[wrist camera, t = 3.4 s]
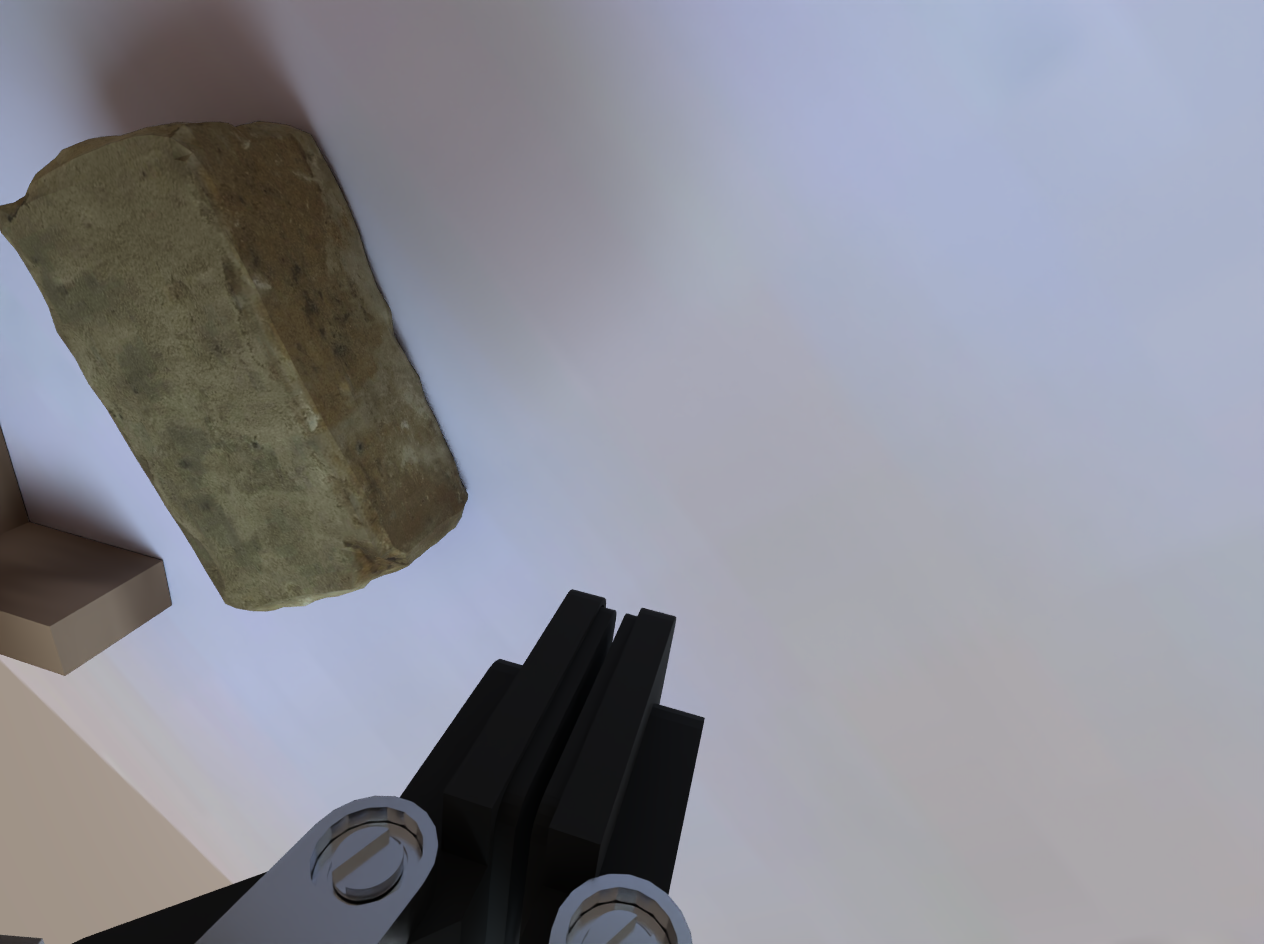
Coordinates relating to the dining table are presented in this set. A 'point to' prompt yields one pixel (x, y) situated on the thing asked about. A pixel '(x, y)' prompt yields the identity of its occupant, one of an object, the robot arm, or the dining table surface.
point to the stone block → (242, 353)
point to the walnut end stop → (67, 588)
